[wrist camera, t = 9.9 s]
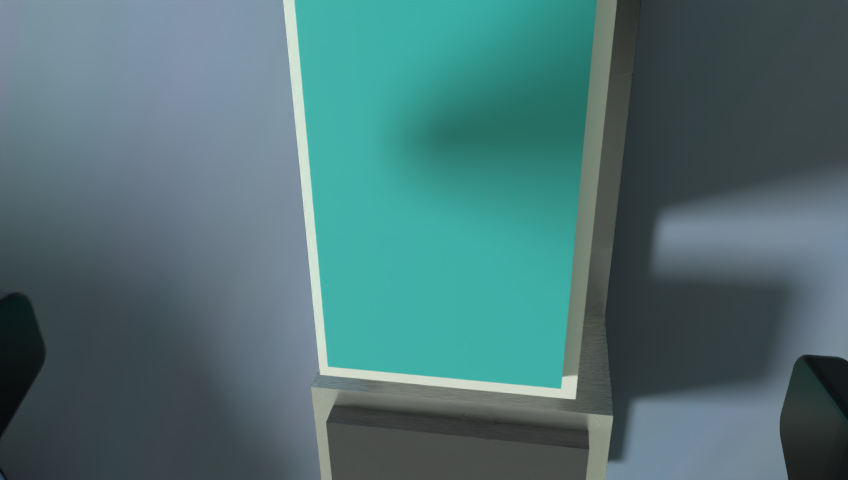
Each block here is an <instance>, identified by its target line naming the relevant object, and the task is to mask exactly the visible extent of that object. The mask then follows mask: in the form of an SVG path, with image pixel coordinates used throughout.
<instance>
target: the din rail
mask: <svg viewBox="0 0 848 480" xmlns="http://www.w3.org/2000/svg"><path fill="white" fill-rule="evenodd" d="M640 6H641V0H617V6H616V15H615V25H614V34H613V44H612V54H611V63H610V73H609V82H608V92H607V101H606V111H605V121H604V130H603V140H602V149H601V159H600V169H599V178H598V188H597V197H596V207H595V216H594V226H593V236H592V245H591V255H590V264H589V274H588V284H587V293H586V303H585V312H584V322H583V331H582V341H581V351H580V360H579V370H578V379H577V389H576V399H564V398H554V397H544V396H534V395H523V394H513V393H503V392H492V391H482V390H472V389H461V388H451V387H441V386H430V385H420V384H410V383H400V382H389V381H379V380H369V379H358V378H348V377H338V376H327V375H320V369H319V371H318V373H317V375H316V378H315V380H314V382H313V384H312V386H311V390H312V399H313V408H314V417H315V426H316V435H317V444H318V453H319V462H320V471H321V480H605V476H606V468H607V460H608V453H609V445H610V437H611V430H612V422H613V407H612V395H611V383H610V372H609V360H608V348H607V337H606V325H605V311H606V302H607V294H608V285H609V276H610V267H611V259H612V250H613V241H614V233H615V224H616V215H617V206H618V198H619V189H620V180H621V172H622V163H623V154H624V145H625V137H626V128H627V119H628V110H629V102H630V93H631V84H632V76H633V67H634V58H635V49H636V41H637V32H638V23H639V15H640Z"/></svg>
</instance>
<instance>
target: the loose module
mask: <svg viewBox="0 0 848 480" xmlns="http://www.w3.org/2000/svg"><path fill="white" fill-rule="evenodd" d="M283 2H284V12H285V22H286V33H287V43H288V53H289V63H290V73H291V84H292V94H293V104H294V114H295V124H296V134H297V145H298V155H299V165H300V175H301V185H302V196H303V206H304V216H305V226H306V236H307V247H308V257H309V267H310V277H311V287H312V298H313V308H314V318H315V328H316V338H317V348H318V359H319V369H320V375H327V376H338V377H348V378H358V379H369V380H379V381H389V382H400V383H410V384H420V385H430V386H441V387H451V388H461V389H472V390H482V391H492V392H503V393H513V394H523V395H534V396H544V397H554V398H564V399H576V389H577V379H578V370H579V360H580V351H581V341H582V331H583V322H584V312H585V303H586V293H587V284H588V274H589V264H590V255H591V245H592V236H593V226H594V216H595V207H596V197H597V188H598V178H599V169H600V159H601V149H602V140H603V130H604V121H605V111H606V101H607V92H608V82H609V73H610V63H611V54H612V44H613V34H614V25H615V15H616V6H617V0H283Z"/></svg>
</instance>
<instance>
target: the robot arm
mask: <svg viewBox="0 0 848 480" xmlns="http://www.w3.org/2000/svg"><path fill="white" fill-rule="evenodd" d="M45 356H46V346H45V342H44V339H43V336H42V332H41V329H40V326H39V323H38V320H37V316H36V313H35V310H34V307H33V304H32V301H31V300H30V298H29V297H28V296H27V295H26V294H24V293H22V292H18V291H5V290H0V440H1V438H2V436H3V434H4V433H5V431H6V429H7V427H8V426H9V424H10V422H11V420H12V419H13V417H14V415H15V414H16V412H17V410H18V408H19V407H20V405H21V403H22V401H23V400H24V398H25V396H26V394H27V393H28V391H29V389H30V387H31V386H32V384H33V382H34V381H35V379H36V377H37V375H38V374H39V372H40V370H41V368H42V366H43V364H44V361H45ZM780 437H781V443H782V448H783V453H784V459H785V464H786V469H787V475H788V480H848V361H847V360H845V359H843V358H840V357H832V356H819V355H803V356H801V357H799V358H798V359H797V361H796V363H795V364H794V367H793V371H792V375H791V378H790V382H789V386H788V389H787V393H786V397H785V401H784V404H783V408H782V412H781V417H780Z"/></svg>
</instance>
